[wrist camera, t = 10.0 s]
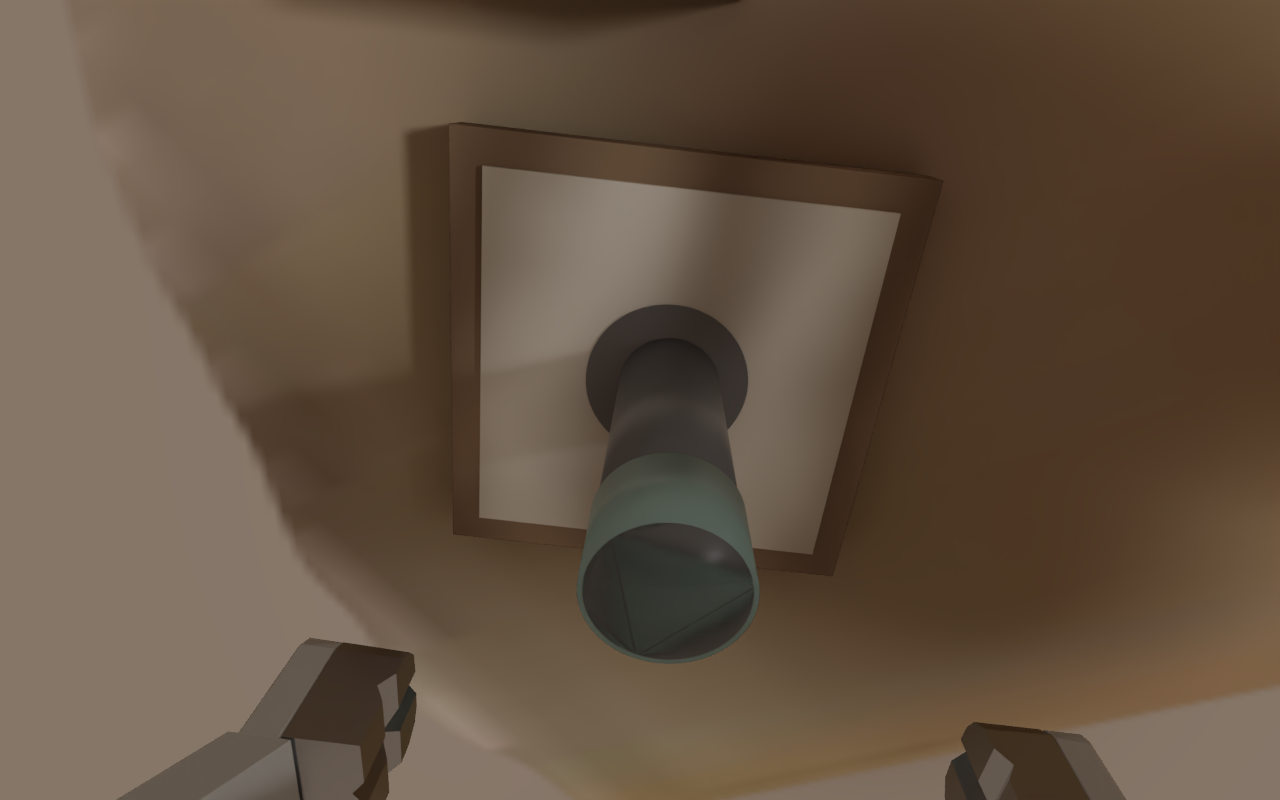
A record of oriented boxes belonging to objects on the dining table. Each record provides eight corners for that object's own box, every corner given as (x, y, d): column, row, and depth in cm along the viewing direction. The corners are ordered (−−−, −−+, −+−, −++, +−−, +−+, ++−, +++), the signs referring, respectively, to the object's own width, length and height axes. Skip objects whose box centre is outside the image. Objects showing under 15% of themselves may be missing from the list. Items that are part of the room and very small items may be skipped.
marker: (730, 341, 21) (775, 529, 12) (713, 438, 22) (742, 672, 13) (621, 329, 21) (583, 508, 12) (611, 426, 22) (571, 653, 13)
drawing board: (928, 176, 20) (946, 181, 19) (825, 555, 26) (834, 581, 25) (460, 122, 20) (445, 124, 19) (462, 515, 26) (451, 538, 25)
